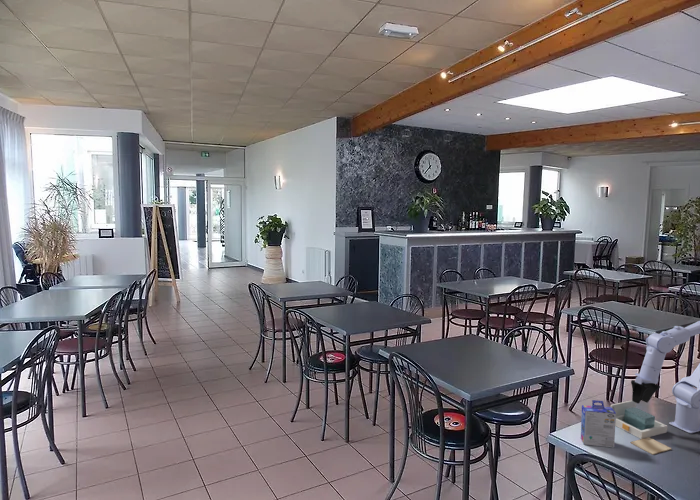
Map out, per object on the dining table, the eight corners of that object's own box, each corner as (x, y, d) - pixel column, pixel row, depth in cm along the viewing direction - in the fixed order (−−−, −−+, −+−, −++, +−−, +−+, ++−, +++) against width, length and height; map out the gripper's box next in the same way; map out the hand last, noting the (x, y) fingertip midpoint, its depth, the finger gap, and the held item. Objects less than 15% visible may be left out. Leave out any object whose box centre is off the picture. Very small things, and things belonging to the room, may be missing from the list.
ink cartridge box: (609, 440, 163) (612, 400, 162) (615, 448, 158) (617, 407, 156) (579, 437, 165) (581, 397, 164) (583, 445, 160) (586, 404, 158)
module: (633, 422, 176) (634, 407, 176) (653, 432, 169) (655, 416, 168) (623, 424, 175) (624, 409, 174) (644, 434, 167) (645, 418, 167)
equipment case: (636, 417, 180) (636, 411, 180) (666, 432, 169) (667, 425, 168) (610, 423, 175) (611, 417, 175) (640, 439, 164) (641, 432, 164)
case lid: (633, 416, 181) (635, 399, 180) (638, 418, 179) (639, 401, 178) (609, 422, 176) (610, 404, 175) (613, 424, 174) (614, 406, 174)
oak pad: (648, 438, 165) (648, 437, 165) (671, 449, 157) (671, 448, 157) (630, 442, 161) (630, 441, 161) (652, 454, 154) (652, 453, 154)
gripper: (648, 362, 176) (636, 396, 177) (631, 361, 167) (619, 397, 169) (668, 370, 170) (657, 405, 172) (652, 370, 162) (640, 406, 163)
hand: (639, 401), depth 170 cm, fingers open, 7 cm apart
